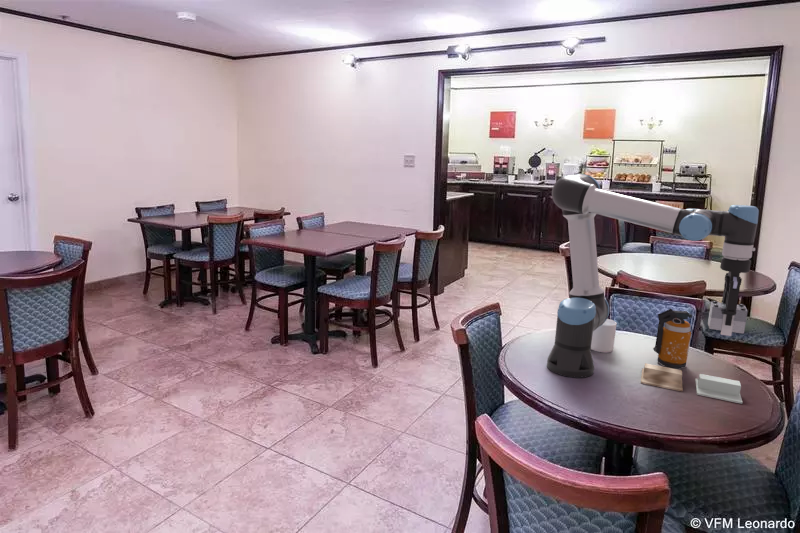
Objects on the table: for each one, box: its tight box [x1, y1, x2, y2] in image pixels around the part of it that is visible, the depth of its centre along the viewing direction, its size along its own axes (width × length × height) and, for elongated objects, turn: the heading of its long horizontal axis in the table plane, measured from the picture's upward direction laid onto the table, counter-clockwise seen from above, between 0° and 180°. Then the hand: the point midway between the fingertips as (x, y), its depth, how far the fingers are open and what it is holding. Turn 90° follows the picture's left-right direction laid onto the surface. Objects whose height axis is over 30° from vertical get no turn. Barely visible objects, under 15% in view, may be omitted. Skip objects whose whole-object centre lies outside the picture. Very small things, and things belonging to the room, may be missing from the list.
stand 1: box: [640, 362, 684, 392], centre depth 175 cm, size 12×12×4 cm
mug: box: [591, 318, 618, 354], centre depth 201 cm, size 9×12×11 cm
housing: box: [707, 300, 748, 334], centre depth 164 cm, size 9×6×7 cm
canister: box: [652, 308, 693, 370], centre depth 186 cm, size 9×11×20 cm
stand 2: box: [694, 373, 743, 405], centre depth 168 cm, size 12×12×4 cm
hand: (724, 331), depth 165 cm, fingers closed on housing, 6 cm apart
